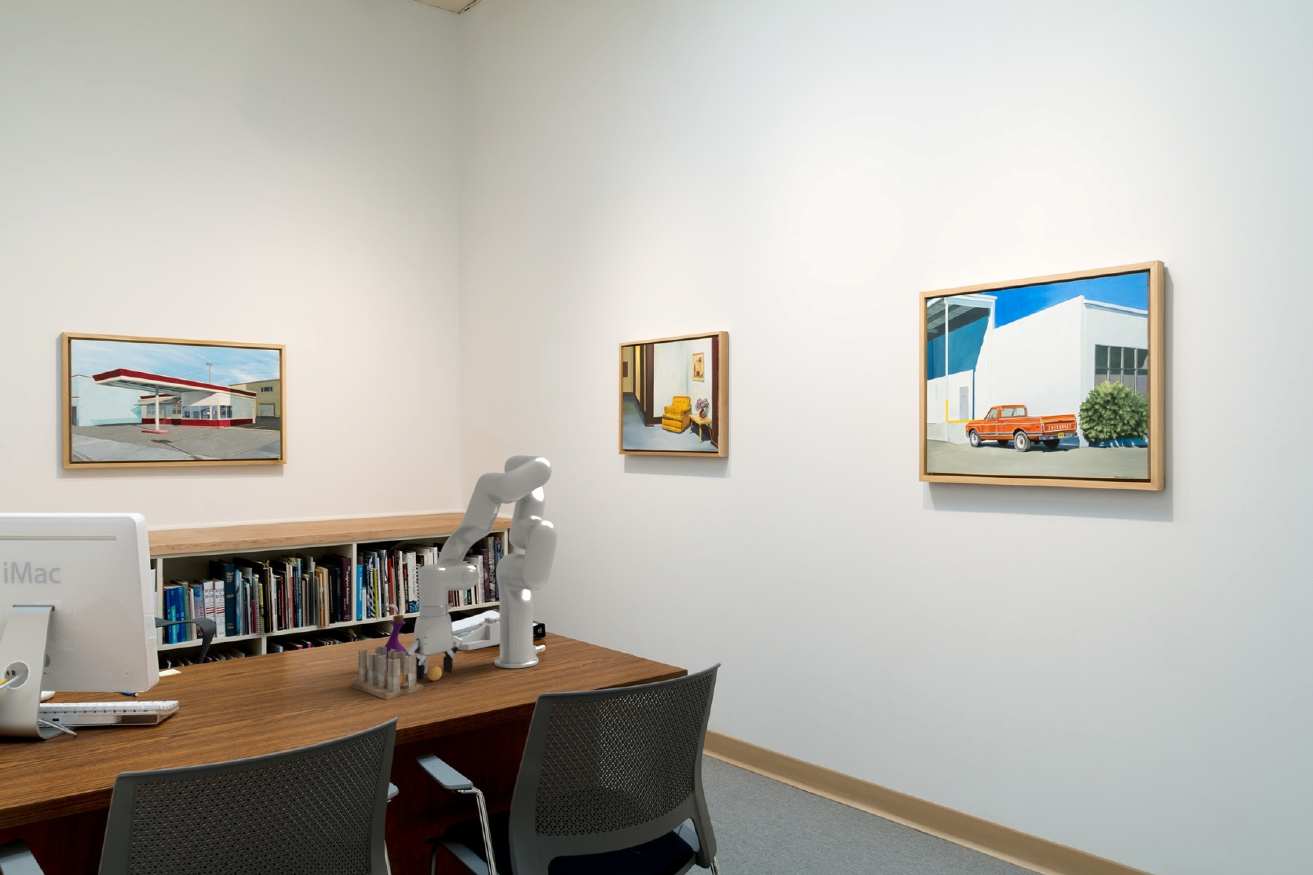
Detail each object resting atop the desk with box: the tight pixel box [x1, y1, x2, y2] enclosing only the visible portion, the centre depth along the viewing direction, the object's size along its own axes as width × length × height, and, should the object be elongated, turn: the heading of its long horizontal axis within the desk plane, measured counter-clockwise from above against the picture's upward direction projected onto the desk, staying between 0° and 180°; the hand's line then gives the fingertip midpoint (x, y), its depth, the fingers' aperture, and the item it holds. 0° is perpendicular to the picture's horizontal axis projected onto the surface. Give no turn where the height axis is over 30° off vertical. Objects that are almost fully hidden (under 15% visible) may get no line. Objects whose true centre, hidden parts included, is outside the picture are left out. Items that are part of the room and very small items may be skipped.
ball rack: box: [350, 645, 425, 700], centre depth 236 cm, size 11×17×9 cm, turn 49°
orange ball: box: [426, 664, 443, 682], centre depth 243 cm, size 4×4×4 cm
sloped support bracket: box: [458, 616, 500, 651], centre depth 284 cm, size 6×18×8 cm, turn 136°
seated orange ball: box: [400, 672, 405, 686], centre depth 233 cm, size 4×4×4 cm
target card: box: [406, 655, 429, 676], centre depth 250 cm, size 1×8×5 cm, turn 105°
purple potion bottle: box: [384, 603, 408, 671], centre depth 257 cm, size 8×8×18 cm
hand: (434, 675), depth 243 cm, fingers open, 8 cm apart
